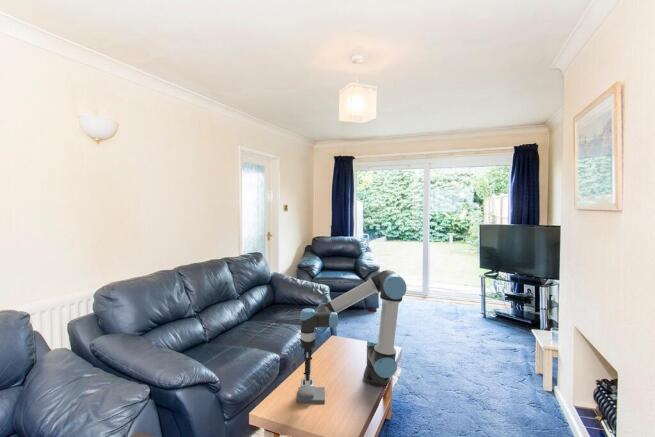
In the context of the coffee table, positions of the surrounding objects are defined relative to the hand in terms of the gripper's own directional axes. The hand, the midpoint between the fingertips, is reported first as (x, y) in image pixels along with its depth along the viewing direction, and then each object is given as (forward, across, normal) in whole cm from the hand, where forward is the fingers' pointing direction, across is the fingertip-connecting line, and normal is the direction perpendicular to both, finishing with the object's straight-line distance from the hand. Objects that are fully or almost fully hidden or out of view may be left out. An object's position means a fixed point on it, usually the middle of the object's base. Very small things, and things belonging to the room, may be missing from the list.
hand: (308, 378), depth 178 cm
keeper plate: (+9, 0, +2) cm, 9 cm away
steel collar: (+8, 0, 0) cm, 8 cm away
